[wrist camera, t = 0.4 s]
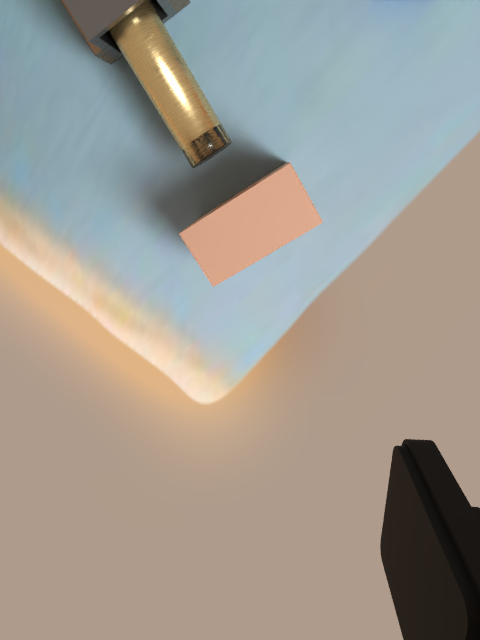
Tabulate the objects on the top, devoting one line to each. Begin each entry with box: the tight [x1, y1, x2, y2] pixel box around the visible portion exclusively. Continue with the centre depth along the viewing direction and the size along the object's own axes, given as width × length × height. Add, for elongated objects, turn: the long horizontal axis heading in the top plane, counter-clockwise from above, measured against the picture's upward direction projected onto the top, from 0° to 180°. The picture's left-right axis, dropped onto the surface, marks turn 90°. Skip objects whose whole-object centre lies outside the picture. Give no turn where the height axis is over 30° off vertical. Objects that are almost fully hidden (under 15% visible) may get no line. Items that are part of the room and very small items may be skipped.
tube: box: [108, 0, 231, 168], centre depth 27 cm, size 16×3×3 cm, turn 32°
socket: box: [179, 162, 323, 287], centre depth 31 cm, size 4×8×8 cm, turn 121°
